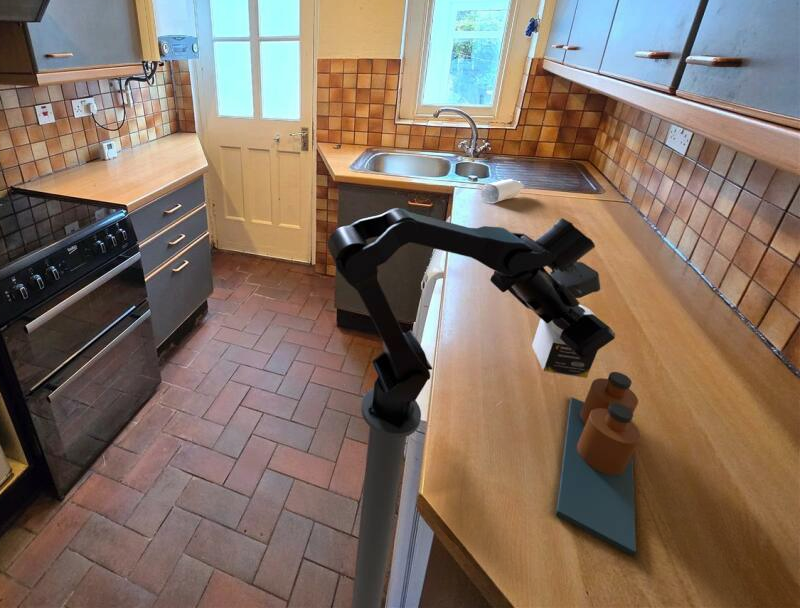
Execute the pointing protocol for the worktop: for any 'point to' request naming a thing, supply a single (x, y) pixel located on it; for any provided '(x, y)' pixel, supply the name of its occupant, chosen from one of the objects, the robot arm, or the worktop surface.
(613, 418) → the amber bottle near
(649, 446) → the worktop surface
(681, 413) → the worktop surface
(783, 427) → the worktop surface
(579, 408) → the tray
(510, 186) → the white bottle
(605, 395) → the amber bottle far
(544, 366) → the medicine bottle
